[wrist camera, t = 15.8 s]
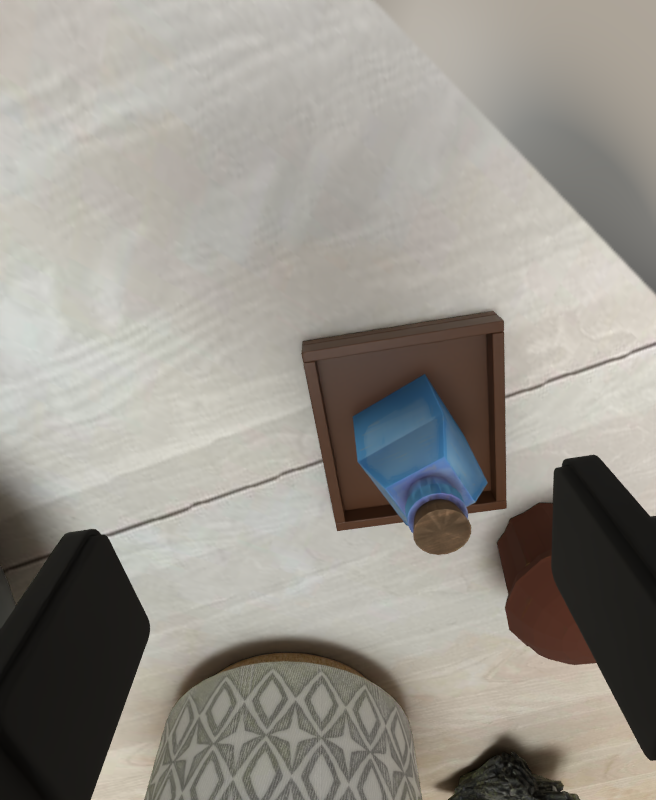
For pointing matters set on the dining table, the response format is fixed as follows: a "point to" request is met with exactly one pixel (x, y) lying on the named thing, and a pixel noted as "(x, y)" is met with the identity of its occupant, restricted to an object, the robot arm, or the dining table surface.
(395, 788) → the planter
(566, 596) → the robot arm
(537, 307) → the dining table surface
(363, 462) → the perfume bottle
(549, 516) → the muffin
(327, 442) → the tray
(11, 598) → the ball
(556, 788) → the mineral specimen
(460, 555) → the dining table surface
